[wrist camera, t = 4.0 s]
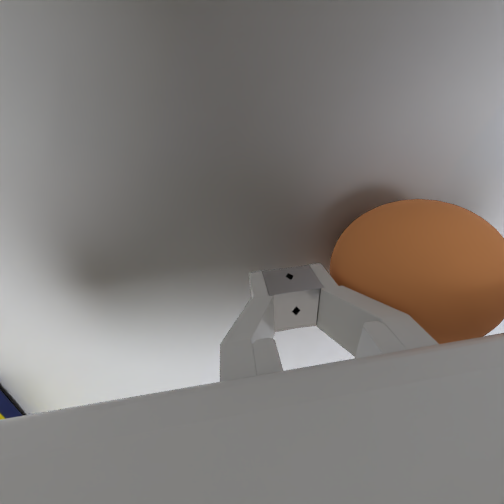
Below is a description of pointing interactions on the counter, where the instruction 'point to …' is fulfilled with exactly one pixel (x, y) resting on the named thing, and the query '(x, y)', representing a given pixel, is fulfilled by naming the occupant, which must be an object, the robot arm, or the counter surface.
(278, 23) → the counter surface
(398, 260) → the ball
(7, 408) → the supplement box
